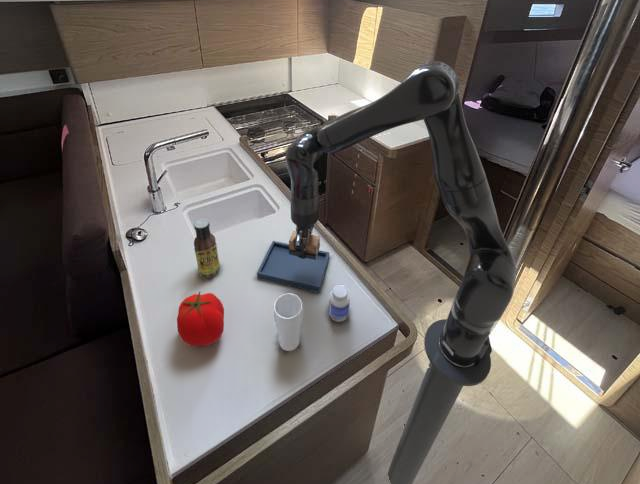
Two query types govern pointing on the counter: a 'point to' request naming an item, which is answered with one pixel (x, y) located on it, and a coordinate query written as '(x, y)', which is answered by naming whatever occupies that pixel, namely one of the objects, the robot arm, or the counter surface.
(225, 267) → the counter surface
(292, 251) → the eraser
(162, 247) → the counter surface
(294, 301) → the drinking glass
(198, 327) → the tomato
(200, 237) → the sauce bottle
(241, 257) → the counter surface
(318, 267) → the tray
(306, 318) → the counter surface
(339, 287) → the pill bottle
